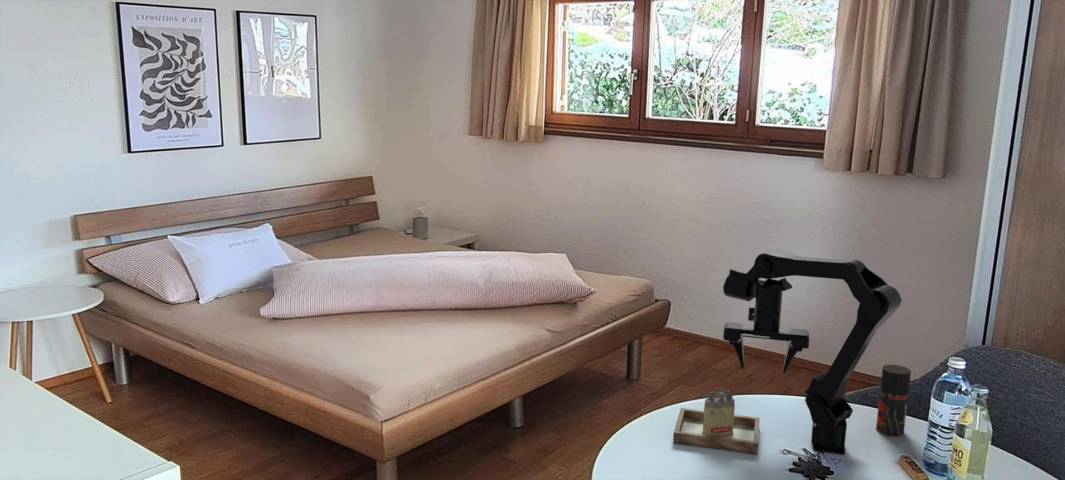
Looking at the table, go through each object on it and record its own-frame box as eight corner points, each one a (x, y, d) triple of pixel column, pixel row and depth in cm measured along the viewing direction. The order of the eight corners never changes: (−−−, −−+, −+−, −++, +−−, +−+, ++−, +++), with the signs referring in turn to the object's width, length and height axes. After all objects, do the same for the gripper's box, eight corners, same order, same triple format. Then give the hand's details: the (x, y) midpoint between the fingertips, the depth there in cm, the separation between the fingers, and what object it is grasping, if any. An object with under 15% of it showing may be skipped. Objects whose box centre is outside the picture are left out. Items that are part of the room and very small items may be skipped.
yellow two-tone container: (706, 438, 188) (708, 396, 186) (699, 431, 192) (701, 389, 189) (735, 435, 189) (738, 393, 187) (728, 428, 193) (731, 387, 191)
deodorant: (905, 438, 191) (912, 375, 188) (877, 434, 193) (884, 372, 189) (901, 427, 197) (908, 366, 193) (874, 424, 198) (881, 363, 195)
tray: (758, 428, 195) (759, 417, 194) (757, 454, 182) (758, 443, 181) (680, 418, 200) (680, 407, 199) (673, 443, 187) (673, 432, 186)
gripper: (810, 299, 197) (804, 363, 200) (728, 292, 202) (724, 354, 205) (811, 313, 186) (805, 380, 190) (725, 305, 191) (720, 370, 195)
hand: (763, 370), depth 195 cm, fingers open, 9 cm apart
